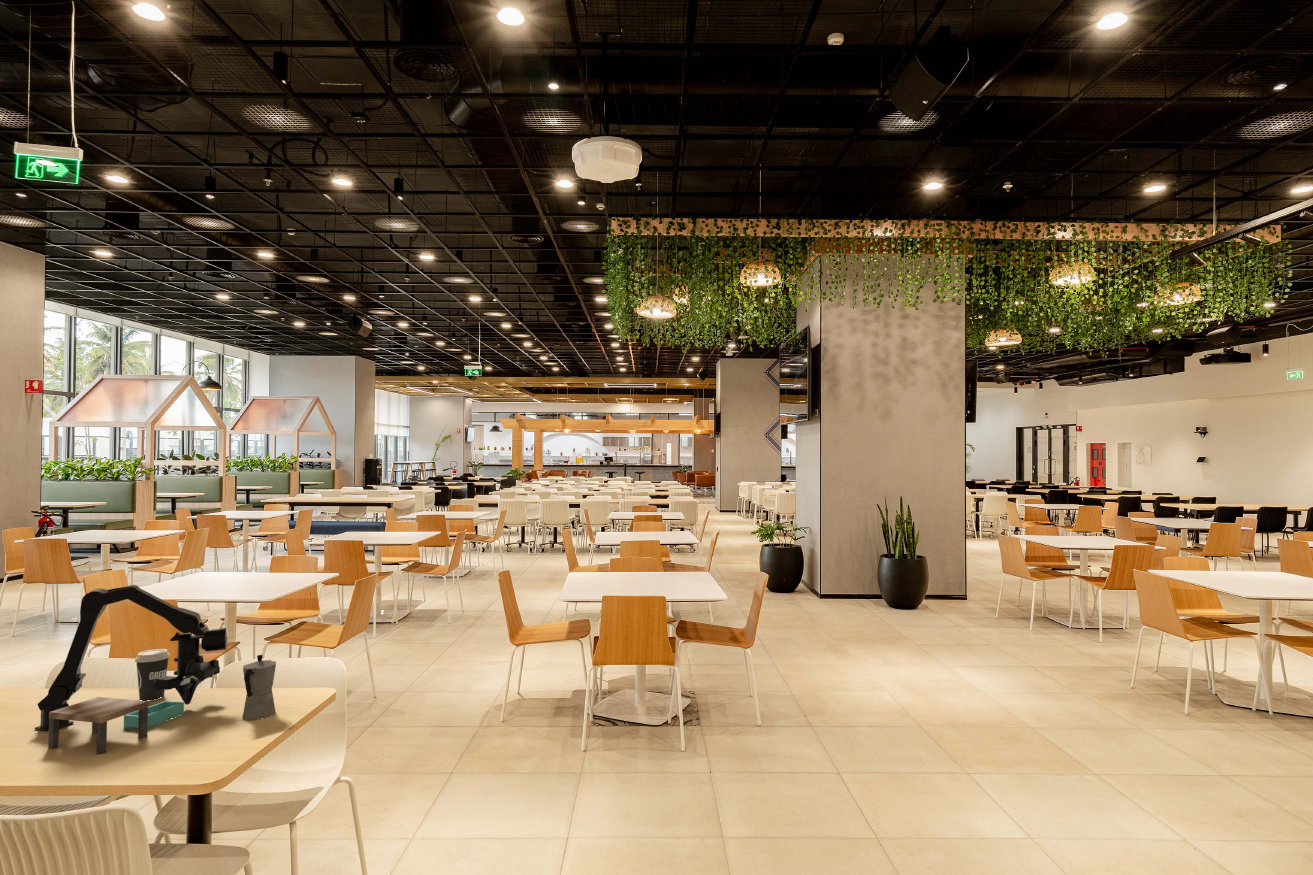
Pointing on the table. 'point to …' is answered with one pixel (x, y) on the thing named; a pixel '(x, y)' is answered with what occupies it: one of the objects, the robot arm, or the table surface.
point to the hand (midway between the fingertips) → (187, 704)
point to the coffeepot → (259, 689)
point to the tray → (155, 714)
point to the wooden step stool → (98, 718)
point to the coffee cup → (151, 672)
